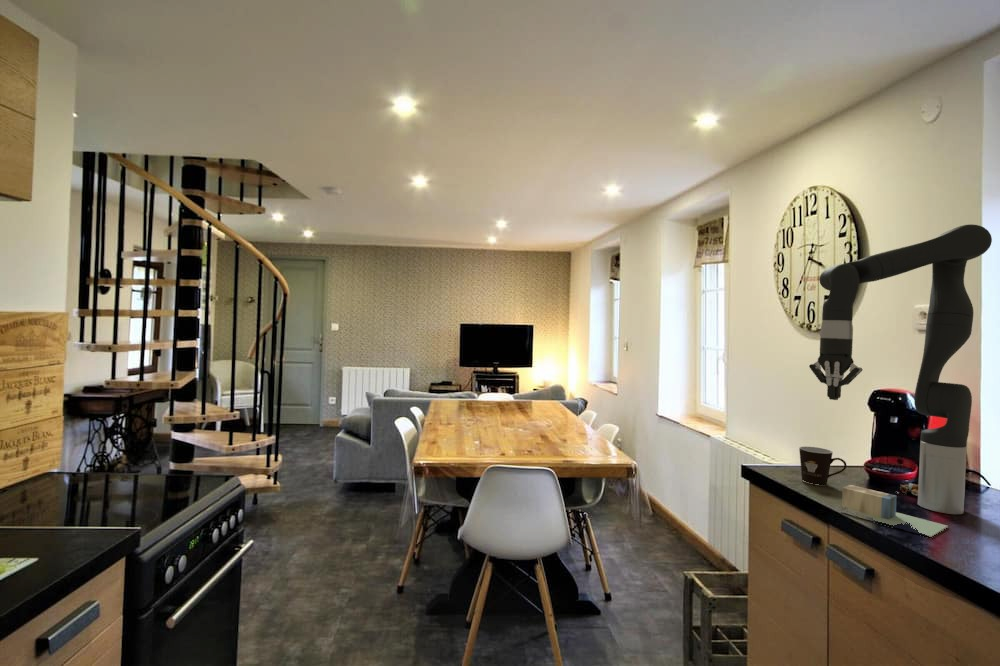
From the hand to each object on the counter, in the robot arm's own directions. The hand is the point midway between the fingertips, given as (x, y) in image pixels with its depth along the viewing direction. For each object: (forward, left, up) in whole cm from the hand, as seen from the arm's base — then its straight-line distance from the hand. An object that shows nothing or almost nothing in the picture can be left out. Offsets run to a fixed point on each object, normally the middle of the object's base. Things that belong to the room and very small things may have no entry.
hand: (833, 399), depth 142 cm
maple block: (+6, +6, -24) cm, 26 cm away
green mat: (+6, +16, -27) cm, 32 cm away
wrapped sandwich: (-25, +14, -28) cm, 40 cm away
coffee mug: (-10, -7, -27) cm, 30 cm away
